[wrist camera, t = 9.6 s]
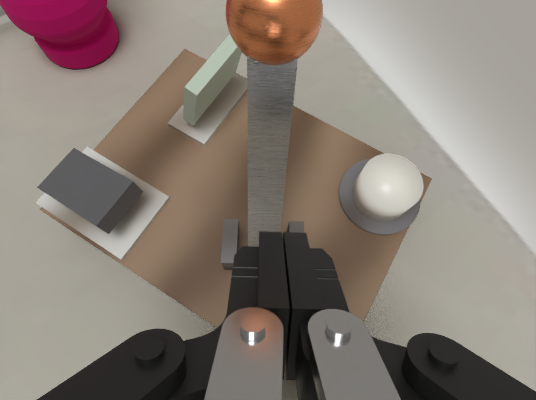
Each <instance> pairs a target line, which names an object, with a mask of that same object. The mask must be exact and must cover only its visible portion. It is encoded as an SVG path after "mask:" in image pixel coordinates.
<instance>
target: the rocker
mask: <svg viewBox="0 0 536 400" xmlns="http://www.w3.org/2000/svg"><path fill="white" fill-rule="evenodd" d="M37 188H39V189H40V190H42V191H43V192H45V193H46V194H48V195H49V196H51V197H52V198H54V199H55V200H57V201H58V202H60V203H61V204H63V205H65V206H66V207H68V208H69V209H71V210H72V211H74V212H75V213H77V214H78V215H80V216H81V217H83V218H84V219H86V220H87V221H89V222H90V223H92V224H93V225H95V226H97V227H98V228H100V229H101V230H103V231H104V232H106V233H107V234H110V232H111V231H112V230H113V229H114V227H115V226H116V225H117V224H118V222H119V221H120V220H121V219H122V217H123V216H124V215H125V214H126V212H127V211H128V210H129V209H130V207H131V206H132V205H133V204H134V202H135V201H136V200H137V199H138V197H139V196H140V195H141V194H142V192H143V191H142V190H141V189H140V188H139V187H138V186H137V185H136V184H135V183H134V182H133V181H132V180H130V179H128V178H127V177H125V176H123V175H121V174H119V173H118V172H116V171H114V170H112V169H110V168H109V167H107V166H105V165H103V164H101V163H100V162H98V161H96V160H94V159H93V158H91V157H89V156H87V155H85V154H84V153H82V152H80V151H78V150H76V149H75V148H73V149H72V151H71V152H70V153H69V154H68V155H67V156H66V157H65V158H64V159H63V160H62V161H61V162H60V163H59V165H58V166H57V167H56V168H55V169H54V170H53V171H52V172H51V173H50V174H49V175H48V176H47V177H46V179H45V180H44V181H43V182H42V183H41V184H40V185H39V186H38V187H37Z"/></svg>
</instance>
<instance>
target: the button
mask: <svg viewBox="0 0 536 400" xmlns="http://www.w3.org/2000/svg"><path fill="white" fill-rule="evenodd" d="M422 193H423V179H422V176H421V173H420V172H419V170H418V168H417V167H416V166H415V165H414V164H413V163H412V162H411V161H409V160H408V159H406V158H405V157H402V156H400V155H397V154H390V153H386V154H380V155H377V156H375V157H373V158H372V159H370V160H369V161H368V162H367V163H366V165H365V166H364V168H363V169H362V171H361V172H360V174H359V175H358V177H357V178H356V180H355V181H354V184H353V187H352V198H353V201H354V204H355V205H356V207H357V209H358V210H359V211H360V212H361V213H362V214H363V215H365V216H366V217H368V218H370V219H372V220H375V221H380V222H387V221H391V220H394V219H396V218H398V217H399V216H401V215H402V214H403V213H404V212H406V211H407V210H408V209H410V208H411V207H412V206H413V205H415V204H416V203H417V202H418V201H419V199H420V198H421V196H422Z"/></svg>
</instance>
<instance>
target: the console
mask: <svg viewBox="0 0 536 400" xmlns="http://www.w3.org/2000/svg"><path fill="white" fill-rule="evenodd" d="M206 61H207V60H205V59H203V58H201V57H199V56H198V55H196V54H194V53H192V52H190V51H188V50H186V49H184V50H183V51H182V52H181V54H180V55H179V56H178V57H177V58H176V59H175V60H174V61H173V62H172V64H171V65H170V66H169V67H168V68H167V69H166V70H165V71H164V72H163V73H162V75H161V76H160V77H159V78H158V79H157V80H156V81H155V82H154V83H153V85H152V86H151V87H150V88H149V89H148V90H147V91H146V92H145V93H144V95H143V96H142V97H141V98H140V99H139V100H138V101H137V102H136V103H135V105H134V106H133V107H132V108H131V109H130V110H129V111H128V112H127V113H126V114H125V116H124V117H123V118H122V119H121V120H120V121H119V122H118V123H117V124H116V126H115V127H114V128H113V129H112V130H111V131H110V132H109V133H108V134H107V136H106V137H105V138H104V139H103V140H102V141H101V142H100V143H99V144H98V145H97V147H96V148H95V149H94V150H92V149H90V148H89V147H86V148H85V149H84V150H83V151H82V153H84V154H85V155H87V156H89V157H91V158H93V159H94V160H96V161H98V162H100V163H101V164H103V165H105V166H107V167H109V168H110V169H112V170H114V171H116V172H118V173H119V174H121V175H123V176H125V177H127V178H128V179H130V180H132V181H133V182H134V183H135V184H136V185H137V186H138V187H139V188H140V189H141V190H142V191H143V192H142V194H141V195H140V196H139V197H138V199H137V200H136V201H135V202H134V204H133V205H132V206H131V207H130V209H129V210H128V211H127V212H126V214H125V215H124V216H123V217H122V219H121V220H120V221H119V222H118V224H117V225H116V226H115V227H114V229H113V230H112V231H111V232H110V234H107V233H106V232H104V231H103V230H101V229H100V228H98V227H97V226H95V225H93V224H92V223H90V222H89V221H87V220H86V219H84V218H83V217H81V216H80V215H78V214H77V213H75V212H74V211H72V210H71V209H69V208H68V207H66V206H65V205H63V204H61V203H60V202H58V201H57V200H55V199H54V198H52V197H51V196H49V195H48V194H46V193H44V194H43V195H42V196H41V197H40V198H39V200H38V201H37V202H36V203H37V204H38V205H40V206H41V207H42V208H41V209H40V210H41V211H43V212H44V213H46V214H47V215H49V216H50V217H52V218H53V219H55V220H56V221H58V222H59V223H61V224H62V225H64V226H65V227H67V228H68V229H70V230H71V231H73V232H74V233H76V234H77V235H79V236H80V237H82V238H83V239H85V240H86V241H88V242H89V243H91V244H92V245H94V246H95V247H97V248H98V249H100V250H101V251H103V252H104V253H106V254H107V255H109V256H110V257H112V258H113V259H115V260H116V261H118V262H119V263H121V264H122V265H124V266H125V267H127V268H128V269H130V270H131V271H133V272H134V273H136V274H137V275H139V276H140V277H142V278H143V279H145V280H146V281H148V282H149V283H151V284H152V285H154V286H155V287H157V288H158V289H160V290H161V291H163V292H164V293H166V294H167V295H169V296H170V297H172V298H173V299H175V300H176V301H178V302H179V303H181V304H182V305H184V306H185V307H187V308H188V309H190V310H191V311H193V312H194V313H196V314H197V315H199V316H200V317H202V318H203V319H205V320H206V321H208V322H209V323H211V324H212V325H214V326H215V327H217V328H218V327H219V326H220V325H221V324H222V322H223V321H224V319H225V317H226V313H227V307H228V299H229V292H230V284H231V277H232V269H233V261H234V255H235V254H236V253H237V252H238V250H239V249H240V248H241V247H242V246H248V105H247V78H245V77H243V76H241V75H239V74H237V73H235V75H234V76H233V77H232V78H231V80H230V81H229V82H228V83H227V85H226V86H225V87H224V88H223V89H222V91H221V92H220V93H219V94H218V96H217V97H216V98H215V99H214V101H213V102H212V103H211V104H210V106H209V107H208V108H207V109H206V111H205V112H204V113H203V114H202V116H201V117H200V118H199V119H198V120H197V122H196V123H195V124H194V125H191V124H190V123H189V122H187V121H186V120H184V119H183V107H184V87H185V86H186V85H187V83H188V82H189V81H190V80H191V79H192V78H193V76H194V75H195V74H196V73H197V72H198V71H199V69H200V68H201V67H202V66H203V65H204V64H205V62H206ZM380 154H384V153H382V152H380V151H378V150H376V149H375V148H373V147H371V146H369V145H367V144H365V143H363V142H361V141H359V140H357V139H355V138H354V137H352V136H350V135H348V134H346V133H344V132H342V131H340V130H338V129H336V128H335V127H333V126H331V125H329V124H327V123H325V122H323V121H321V120H319V119H317V118H316V117H314V116H312V115H310V114H308V113H306V112H304V111H302V110H300V109H298V108H297V107H295V106H293V110H292V120H291V130H290V139H289V149H288V159H287V169H286V178H285V188H284V198H283V208H282V218H281V227H280V232H282V237H283V232H301V233H306V234H307V238H308V243H309V247H310V248H322V249H323V250H324V251H325V252H326V253H327V254H328V255H329V256H330V257H332V260H333V263H334V266H335V271H336V272H337V275H338V280H339V281H340V284H341V287H342V290H343V293H344V296H345V300H346V303H347V306H348V309H349V312H350V313H351V314H353V315H355V316H356V317H358V318H359V319H360V320H361V321H362V322H364V320H365V318H366V316H367V314H368V311H369V309H370V307H371V305H372V303H373V301H374V299H375V297H376V295H377V293H378V291H379V288H380V286H381V284H382V282H383V280H384V278H385V276H386V274H387V272H388V270H389V268H390V265H391V263H392V261H393V259H394V257H395V255H396V253H397V251H398V249H399V247H400V244H401V242H402V240H403V238H404V236H405V234H406V232H407V230H408V228H409V226H410V224H411V223H412V222H413V221H414V220H415V218H416V216H417V215H418V212H419V208H420V203H421V201H422V198H423V196H424V194H425V192H426V190H427V188H428V186H429V184H430V182H431V180H432V178H430V177H428V176H426V175H424V174H422V173H421V176H422V179H423V193H422V196H421V198H420V199H419V201H418V202H417V203H416V204H415V205H413V206H412V207H411V208H410V209H408V210H407V211H406V212H404V213H403V214H402V215H401V216H399V217H398V218H396V219H394V220H391V221H387V222H380V221H375V220H372V219H370V218H368V217H366V216H365V215H363V214H362V213H361V212H360V211H359V210H358V209H357V207H356V205H355V204H354V201H353V198H352V187H353V184H354V181H355V180H356V178H357V177H358V175H359V174H360V172H361V171H362V169H363V168H364V166H365V165H366V163H367V162H368V161H369V160H370V159H372V158H373V157H375V156H377V155H380ZM284 373H286V370H285V369H284Z"/></svg>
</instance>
